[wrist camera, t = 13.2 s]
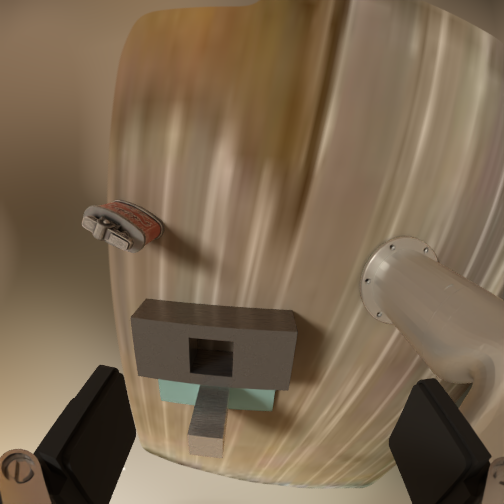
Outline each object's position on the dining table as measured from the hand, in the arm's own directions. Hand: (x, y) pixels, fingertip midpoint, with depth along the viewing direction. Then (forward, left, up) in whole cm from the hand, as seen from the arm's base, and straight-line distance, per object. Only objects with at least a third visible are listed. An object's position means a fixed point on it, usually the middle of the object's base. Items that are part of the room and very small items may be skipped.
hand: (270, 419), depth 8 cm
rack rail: (+5, +15, -30) cm, 34 cm away
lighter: (+16, -1, -31) cm, 34 cm away
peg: (+5, +24, -30) cm, 38 cm away
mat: (+5, +24, -30) cm, 39 cm away
